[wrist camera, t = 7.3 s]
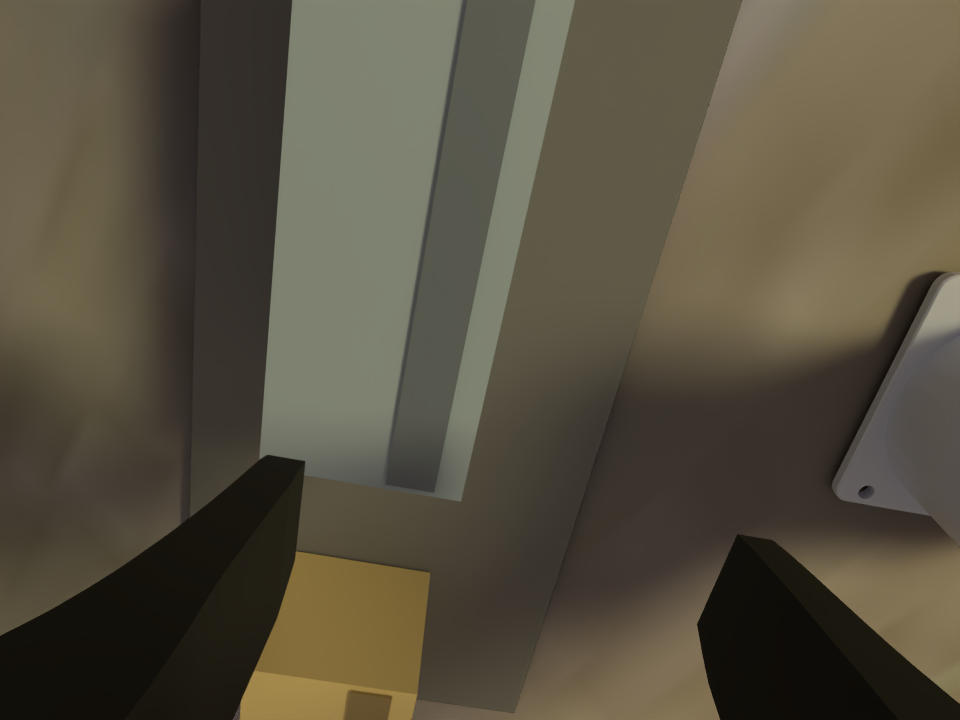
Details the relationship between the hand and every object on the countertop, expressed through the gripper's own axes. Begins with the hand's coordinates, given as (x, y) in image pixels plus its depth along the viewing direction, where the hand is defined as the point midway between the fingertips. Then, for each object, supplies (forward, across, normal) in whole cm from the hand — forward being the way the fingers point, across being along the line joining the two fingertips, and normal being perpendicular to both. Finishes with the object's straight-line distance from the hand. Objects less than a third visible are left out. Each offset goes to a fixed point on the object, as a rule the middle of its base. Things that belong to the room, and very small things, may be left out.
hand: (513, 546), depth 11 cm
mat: (+10, +2, +4) cm, 11 cm away
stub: (+10, +3, +13) cm, 17 cm away
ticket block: (+10, +3, -3) cm, 11 cm away
